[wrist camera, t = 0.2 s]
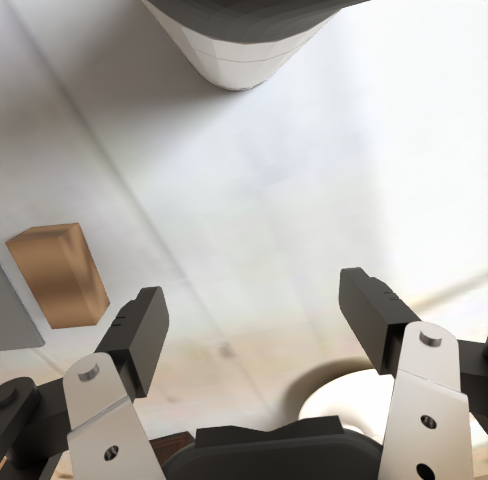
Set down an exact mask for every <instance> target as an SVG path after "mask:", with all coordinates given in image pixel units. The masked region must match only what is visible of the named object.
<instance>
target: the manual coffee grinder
mask: <svg viewBox="0 0 488 480" xmlns="http://www.w3.org/2000/svg"><path fill="white" fill-rule="evenodd" d="M149 442H150V445H151V447H152V449H153V451H154V454H155V456H156V458H157V460H158V463H159V465H160V467H161V466H162V465H163V463H164V462H165V461H167V460H168V459H169V458H170V457H171V456H172V455H173V454H175V453H176V452H178V451H179V450H181V449H182V448H184V447H186V446H188V445H189V444H192V443H194V442H195V439H194V438H193V436H192V435H191V434H190V433H189V432H183V433H177V434H173V435H170V436H166V437H162V438H158V439H154V440H151V441H149Z"/></svg>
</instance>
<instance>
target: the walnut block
mask: <svg viewBox="0 0 488 480" xmlns="http://www.w3.org/2000/svg"><path fill="white" fill-rule="evenodd" d="M5 243H6V245H7V247H8V249H9V251H10V252H11V254H12V256H13V258H14V260H15V262H16V263H17V265H18V267H19V269H20V271H21V273H22V275H23V276H24V278H25V280H26V282H27V284H28V286H29V287H30V289H31V291H32V293H33V295H34V297H35V299H36V300H37V302H38V304H39V306H40V308H41V310H42V311H43V313H44V315H45V317H46V319H47V321H48V323H49V324H50V326H51V328H52V329H60V328H70V327H81V326H92V325H97V323H98V322H99V320H100V318H101V317H102V315H103V314H104V312H105V311H106V309H107V308H108V306H109V304H110V302H109V299H108V297H107V294H106V292H105V289H104V286H103V284H102V281H101V279H100V276H99V274H98V271H97V268H96V266H95V263H94V261H93V258H92V256H91V253H90V250H89V248H88V245H87V243H86V240H85V238H84V235H83V233H82V230H81V227H80V225H79V223H72V224H61V225H51V226H40V227H32V228H30V229H28V230H26V231H25V232H23V233H21V234H19V235H18V236H16V237H14V238H12V239H11V240H9V241H7V242H5Z"/></svg>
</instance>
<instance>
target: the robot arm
mask: <svg viewBox="0 0 488 480" xmlns="http://www.w3.org/2000/svg"><path fill="white" fill-rule="evenodd" d="M141 1H142V2H143V3H144V4H145V6H146V7H147V8H148V9H149V10H150V11H151V13H152V14H153V15H154V17H155V18H156V19H157V20H158V22H159V23H160V24H161V25H162V27H163V28H164V29H165V31H166V32H167V33H168V34H169V36H170V37H171V38H172V40H173V41H174V42H175V43H176V45H177V46H178V47H179V48H180V50H181V51H182V52H183V54H184V55H185V56H186V57H187V59H188V60H189V61H190V63H191V64H192V65H193V66H194V67H195V69H196V70H197V71H198V72H199V74H200V75H202V76H203V77H204V78H205V79H206V80H207V81H209V82H210V83H212V84H214V85H216V86H218V87H220V88H223V89H227V90H235V91H242V90H246V89H251V88H253V87H256V86H258V85H260V84H262V83H263V82H265V81H266V80H268V78H269V77H271V76H272V75H273V74H274V73H275V72H276V71H277V70H278V69H279V68H280V67H281V66H283V65H284V64H285V63H286V62H287V61H288V60H289V59H290V58H291V57H292V56H293V55H294V54H295V53H296V52H297V51H298V50H299V49H300V48H301V47H302V46H303V45H304V44H305V43H306V42H307V41H309V40H310V39H311V38H312V37H313V36H314V35H315V34H316V33H317V32H318V31H319V30H320V29H321V28H322V27H323V26H324V25H325V24H326V23H327V22H328V21H329V20H330V19H331V18H332V17H333V16H334V15H335V14H336V13H337V12H339V11H340V10H341V9H342V8H345V7H348V6H352V5H355V4H359V3H362V2H366V1H370V0H141ZM339 305H340V309H341V311H342V313H343V315H344V317H345V318H346V320H347V322H348V324H349V325H350V327H351V329H352V330H353V332H354V334H355V335H356V337H357V339H358V341H359V342H360V344H361V346H362V347H363V349H364V351H365V352H366V354H367V356H368V358H369V359H370V361H371V363H372V364H373V366H374V368H375V369H376V371H377V373H378V375H379V376H380V375H390V374H391V375H392V377H393V378H394V385H393V390H392V396H391V401H390V406H389V411H388V417H387V422H386V427H385V432H384V437H383V442H382V445H381V444H380V443H378V442H377V441H375V440H373V439H372V438H370V437H368V436H366V435H364V434H362V433H359V432H357V431H354V430H350V429H347V428H343V427H342V424H341V422H340V419H339V416H338V415H333V416H323V417H313V418H303V419H301V420H298V421H296V422H293V423H291V424H288V425H286V426H283V427H281V428H278V429H276V430H273V431H270V432H264V431H259V430H253V429H248V428H242V427H237V426H232V425H231V426H221V427H211V428H201V429H197V430H196V439H195V442H194V443H192V444H189V445H188V446H186V447H184V448H182V449H181V450H179V451H178V452H176V453H175V454H173V455H172V456H171V457H170V458H169V459H168V460H167V461H165V462H164V463H163V465H162V466H161V467H160V465H159V463H158V460H157V458H156V456H155V454H154V451H153V449H152V447H151V445H150V442H149V440H148V438H147V436H146V433H145V431H144V429H143V427H142V425H141V422H140V420H139V418H138V416H137V413H136V411H135V409H134V407H133V402H134V400H135V398H145V397H147V394H148V391H149V387H150V384H151V381H152V378H153V375H154V372H155V369H156V365H157V362H158V359H159V356H160V353H161V350H162V347H163V344H164V340H165V337H166V334H167V331H168V327H169V314H168V310H167V306H166V302H165V298H164V295H163V291H162V288H161V287H160V286H157V287H147V288H142V289H141V290H140V292H139V294H138V296H137V298H136V299H135V300H130V301H129V302H128V303H127V304H126V305H125V306H123V307H122V308H121V309H120V311H119V313H118V314H117V316H116V319H114V321H113V322H112V324H111V327H109V329H108V331H107V332H106V334H105V335H104V337H103V339H102V340H101V342H100V344H99V345H98V347H97V349H96V350H95V352H94V353H93V354H90V355H88V356H85V357H83V358H82V359H80V360H78V361H77V362H76V363H74V364H73V365H72V366H71V367H70V368H69V369H68V371H67V372H66V373H65V375H64V377H63V378H60V379H57V380H54V381H51V382H48V383H46V384H43V385H40V386H36V385H35V383H34V381H33V379H31V378H29V377H19V378H15V379H12V380H10V381H7V382H5V383H3V384H2V385H0V462H1V461H2V459H3V458H4V456H6V458H7V460H6V462H5V463H4V465H3V466H2V468H1V470H0V480H50V479H51V477H52V475H53V473H54V470H55V468H56V466H57V464H58V462H59V460H60V458H61V456H62V453H63V452H64V451H67V450H69V453H70V459H71V464H72V470H73V476H74V480H474V473H473V459H472V445H471V432H470V418H469V412H471V414H472V415H473V416H474V418H475V419H476V420H477V421H478V423H479V424H480V425H481V427H482V428H483V429H484V431H485V432H486V433H487V434H488V337H487V340H486V342H485V343H478V342H471V341H464V340H457V339H456V338H455V337H454V336H453V335H452V334H451V333H450V332H449V331H447V330H446V329H444V328H442V327H440V326H438V325H436V324H433V323H429V322H423V321H421V319H420V318H419V317H418V316H417V315H416V314H415V313H414V312H413V311H412V310H411V309H410V308H409V307H408V306H407V305H406V304H405V303H404V302H403V301H402V300H401V299H399V297H398V296H397V295H396V294H395V293H393V291H392V290H391V289H390V288H389V287H388V286H387V285H386V284H385V283H384V282H382V281H380V280H378V279H376V278H375V277H371V278H370V277H369V276H368V275H367V274H366V273H365V272H364V271H363V269H362V268H360V267H357V268H346V269H342V270H341V273H340V286H339Z"/></svg>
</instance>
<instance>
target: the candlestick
mask: <svg viewBox="0 0 488 480" xmlns="http://www.w3.org/2000/svg"><path fill="white" fill-rule="evenodd" d="M393 385H394V378H393V377H392V375H391V374H390V375H380V376H379V375H378V373H377V371H376V369H369V370H363V371H358V372H354V373H351V374H347V375H344V376H342V377H339V378H337V379H335V380H333V381H331V382H329V383H327V384H325V385H324V386H322V387H321V388H319V389H318V390H316V391H315V392H314V393H313V394H312V395H311V396H310V397H309V398H308V399H307V400H306V401H305V403H304V404H303V406H302V408H301V410H300V413H299V417H298V420H301V419H303V418H313V417H323V416H333V415H338V416H339V419H340V422H341V424H342V427H343V428H347V429H350V430H354V431H357V432H359V433H362V434H364V435H366V436H368V437H370V438H372V439H373V440H375V441H377V442H378V443H380V444H381V445H382V442H383V437H384V432H385V427H386V422H387V417H388V411H389V406H390V401H391V396H392V390H393ZM469 418H470V426H473V425H474V424H476V423H478V421H477V420H476V419H475V418H474V416H473V415H472V414H471V413H470V415H469Z"/></svg>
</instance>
